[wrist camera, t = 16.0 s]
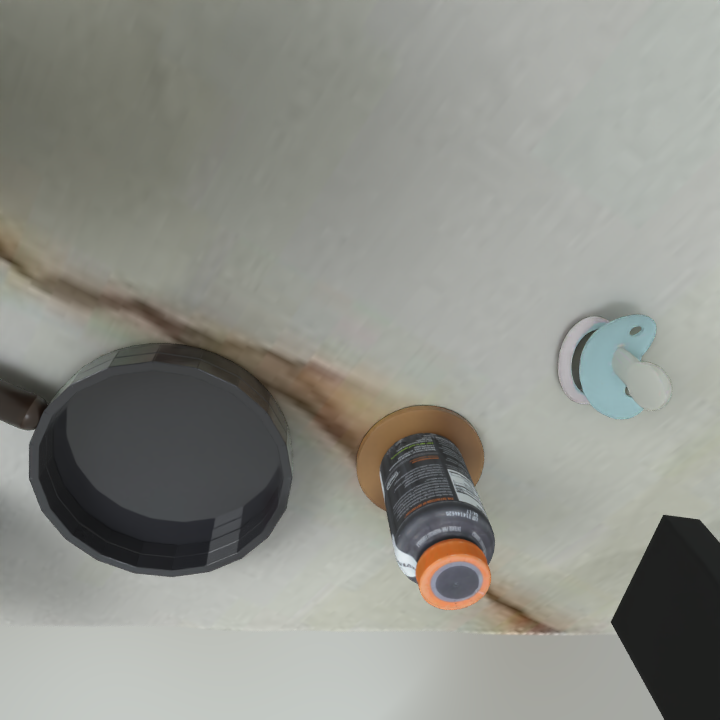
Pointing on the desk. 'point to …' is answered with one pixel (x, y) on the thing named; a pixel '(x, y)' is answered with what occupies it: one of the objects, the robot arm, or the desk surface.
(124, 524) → the pan
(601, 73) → the desk surface
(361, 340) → the desk surface
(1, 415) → the pan handle
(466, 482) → the pill bottle
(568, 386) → the pacifier
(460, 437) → the coaster
